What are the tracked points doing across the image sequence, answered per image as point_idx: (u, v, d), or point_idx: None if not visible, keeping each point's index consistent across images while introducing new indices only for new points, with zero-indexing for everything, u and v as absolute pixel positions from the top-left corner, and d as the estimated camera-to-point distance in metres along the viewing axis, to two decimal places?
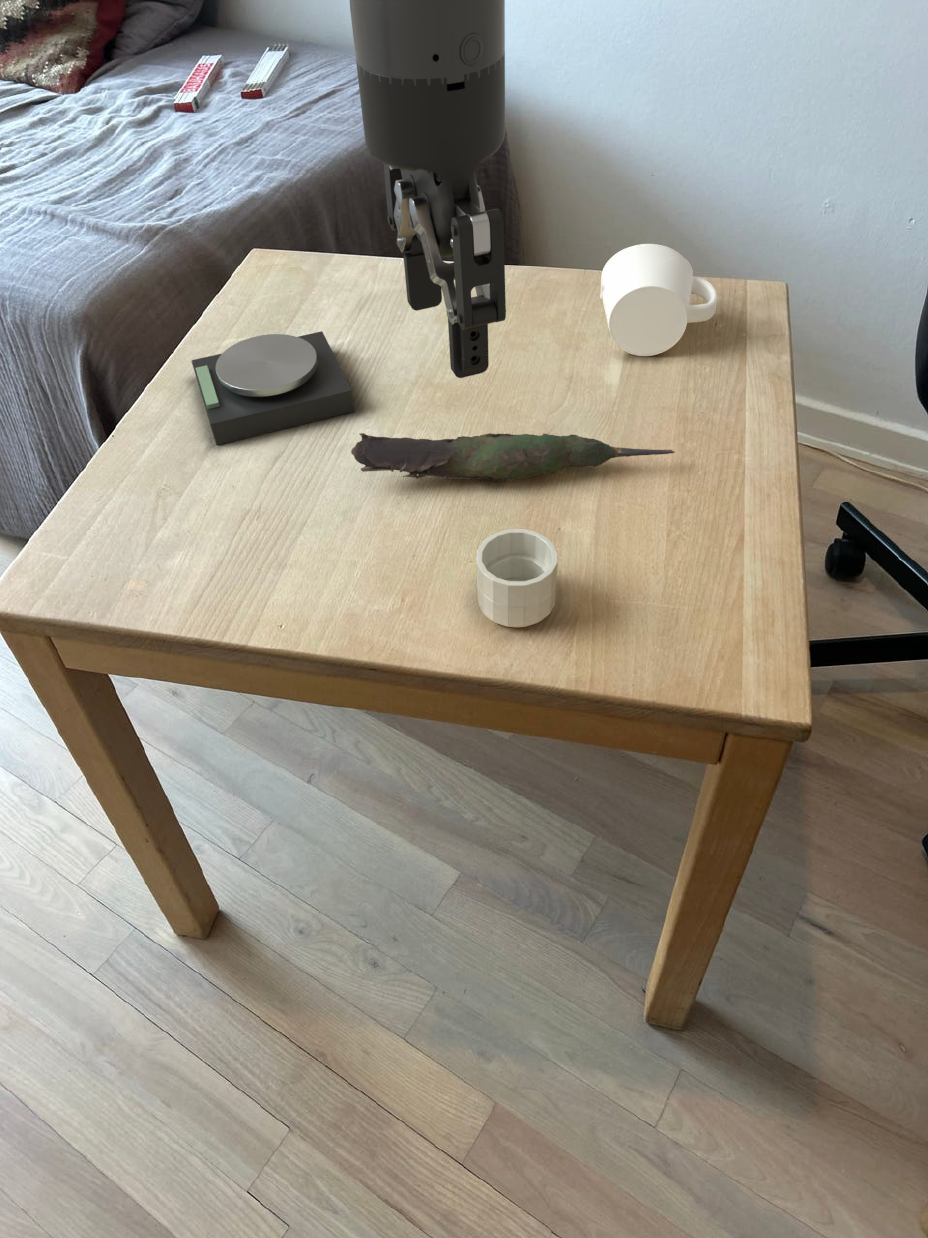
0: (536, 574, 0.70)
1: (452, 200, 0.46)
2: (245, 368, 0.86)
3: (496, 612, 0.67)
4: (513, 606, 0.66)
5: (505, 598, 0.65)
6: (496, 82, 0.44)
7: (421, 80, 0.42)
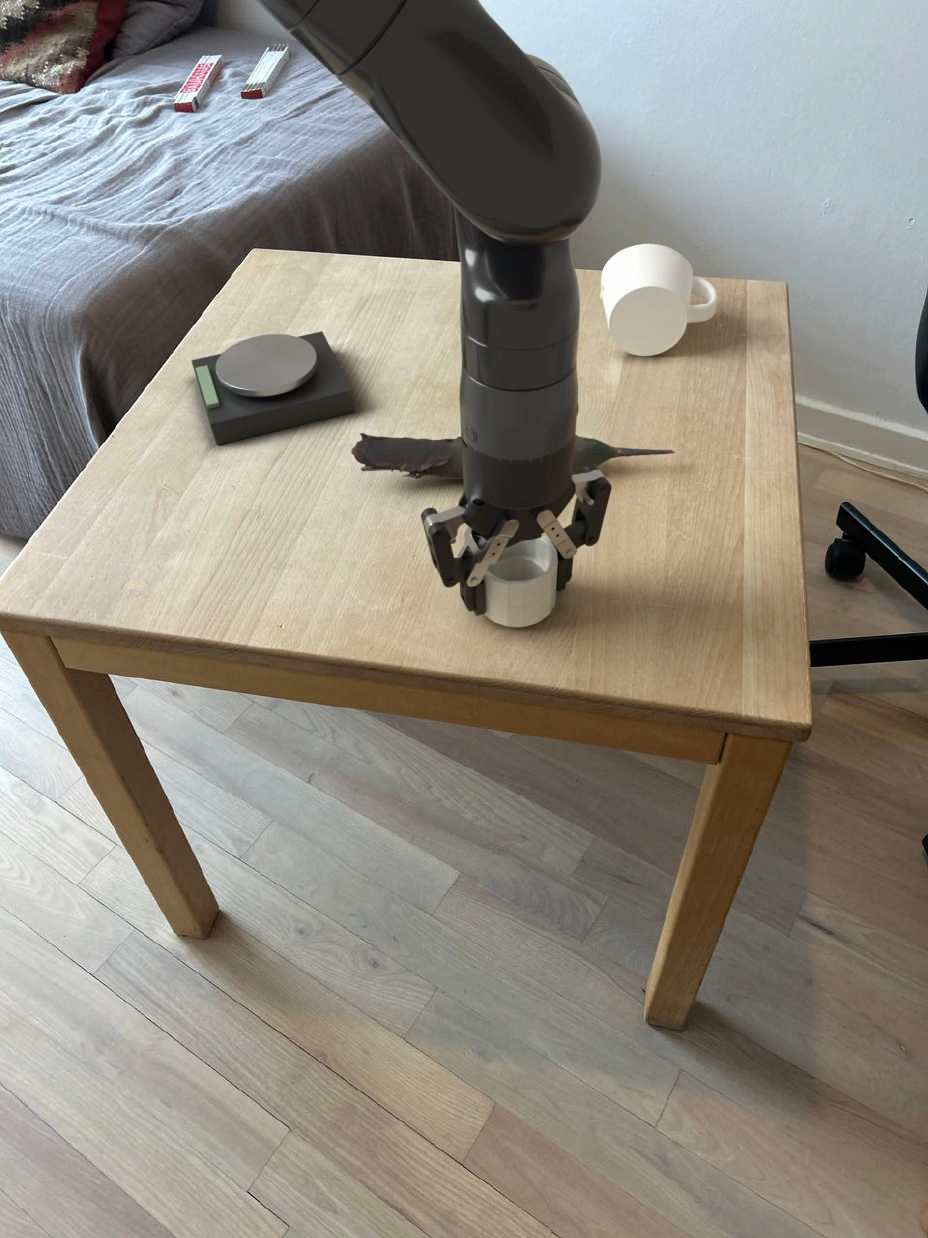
0: (536, 574, 0.70)
1: (459, 502, 0.61)
2: (245, 368, 0.86)
3: (496, 612, 0.67)
4: (513, 606, 0.66)
5: (505, 598, 0.65)
6: (491, 467, 0.56)
7: None
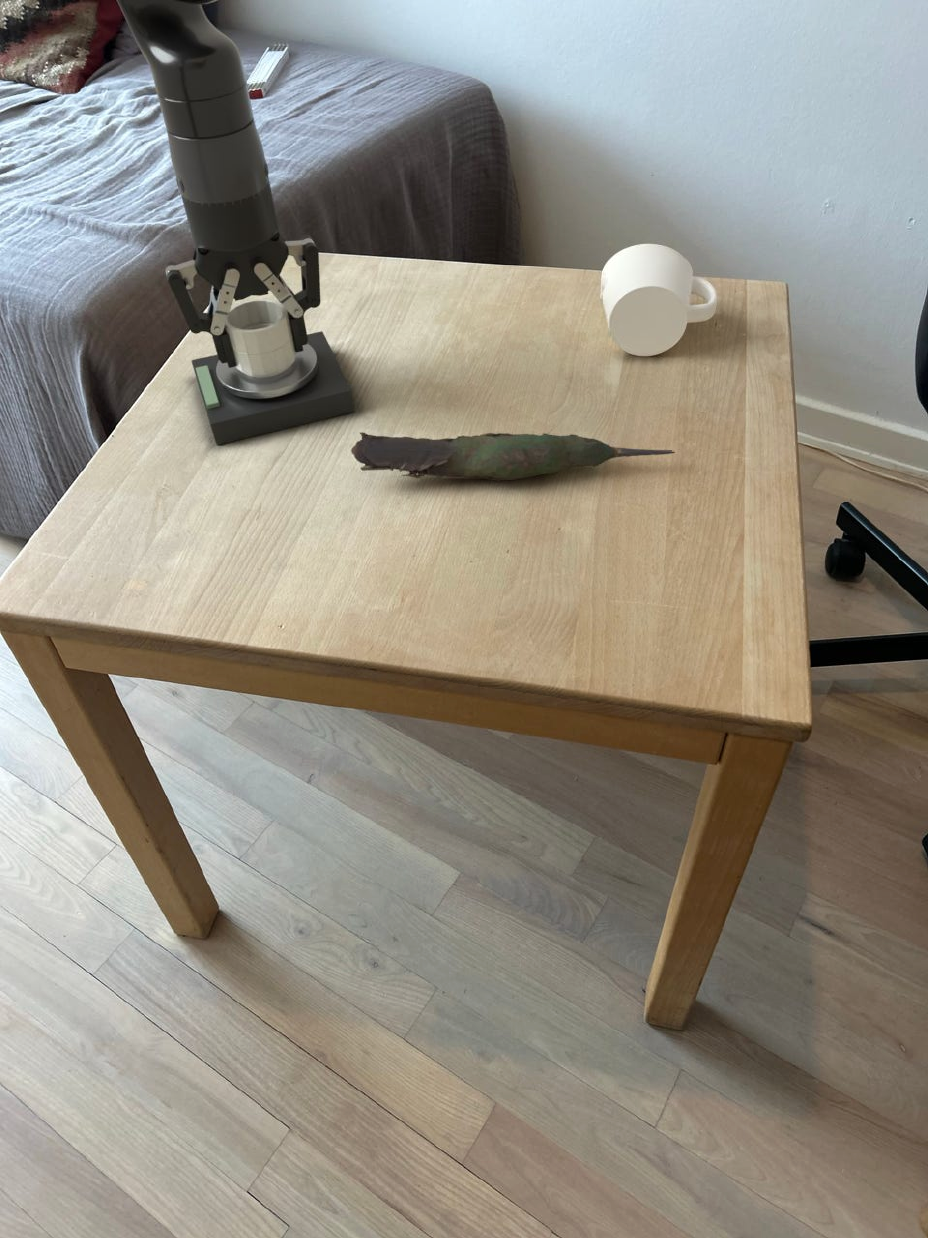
0: None
1: (193, 257, 0.78)
2: None
3: (241, 362, 0.84)
4: (251, 353, 0.83)
5: (243, 345, 0.83)
6: (198, 212, 0.73)
7: None
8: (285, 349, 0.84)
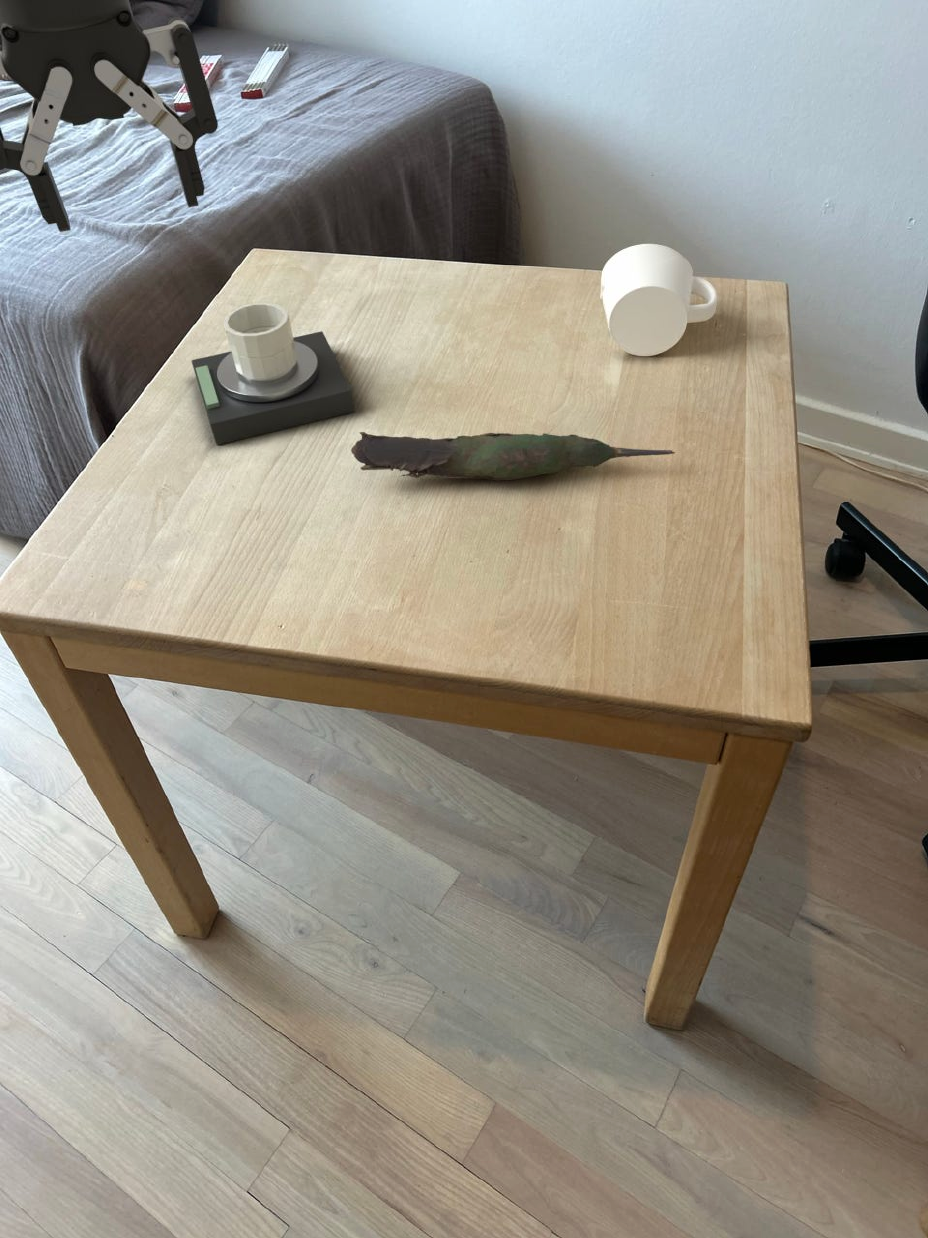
0: None
1: None
2: None
3: (242, 365, 0.85)
4: (252, 357, 0.84)
5: (244, 349, 0.83)
6: None
7: None
8: (286, 353, 0.85)
